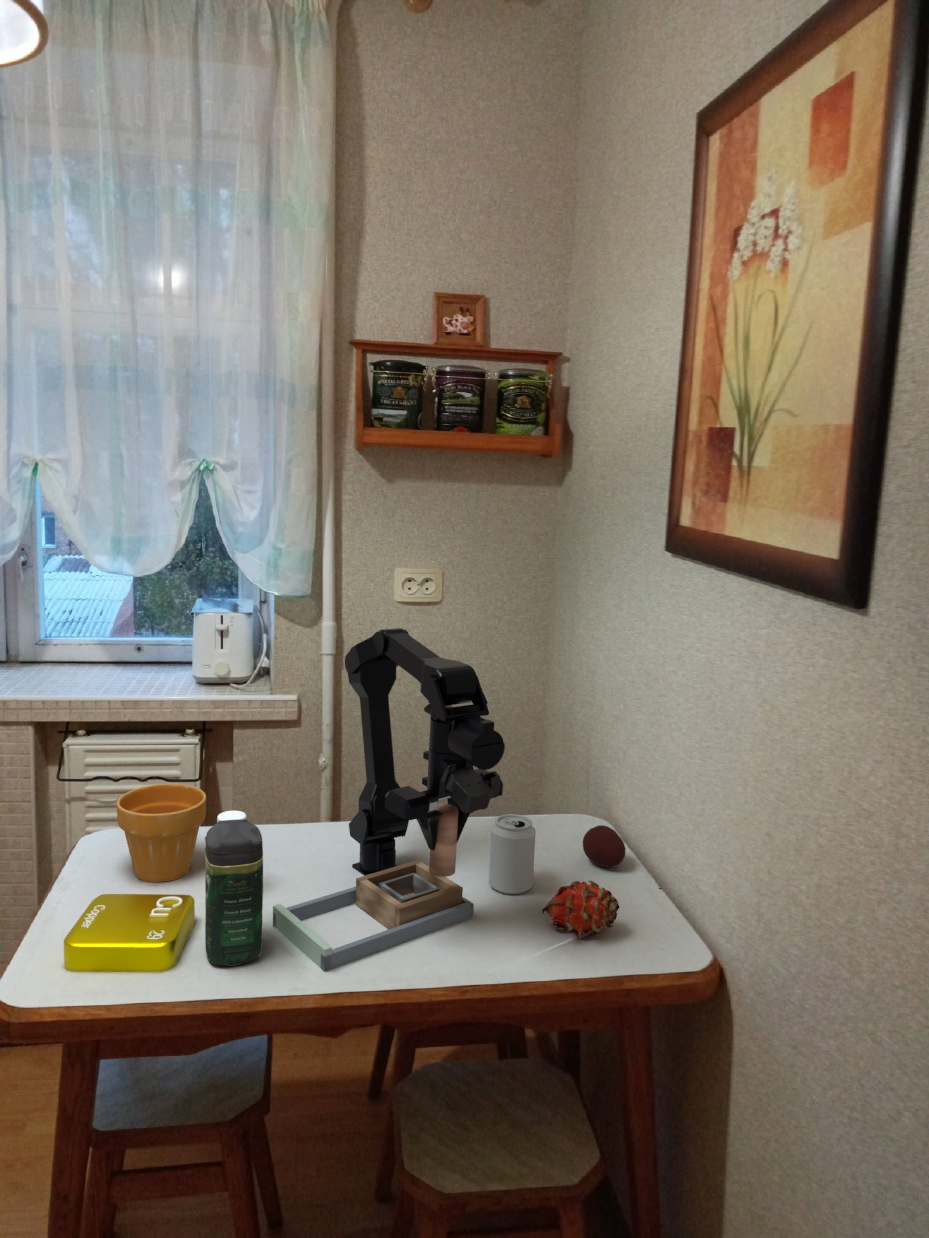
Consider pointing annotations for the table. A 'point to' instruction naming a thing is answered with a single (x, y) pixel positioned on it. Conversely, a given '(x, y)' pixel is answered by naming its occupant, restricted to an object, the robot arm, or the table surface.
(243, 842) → the green labelled bottle
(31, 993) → the table surface
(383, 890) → the crate
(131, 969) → the element tile
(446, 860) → the handle peg
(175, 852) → the flower pot
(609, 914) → the dragon fruit
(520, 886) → the can
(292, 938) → the bay
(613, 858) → the passion fruit
